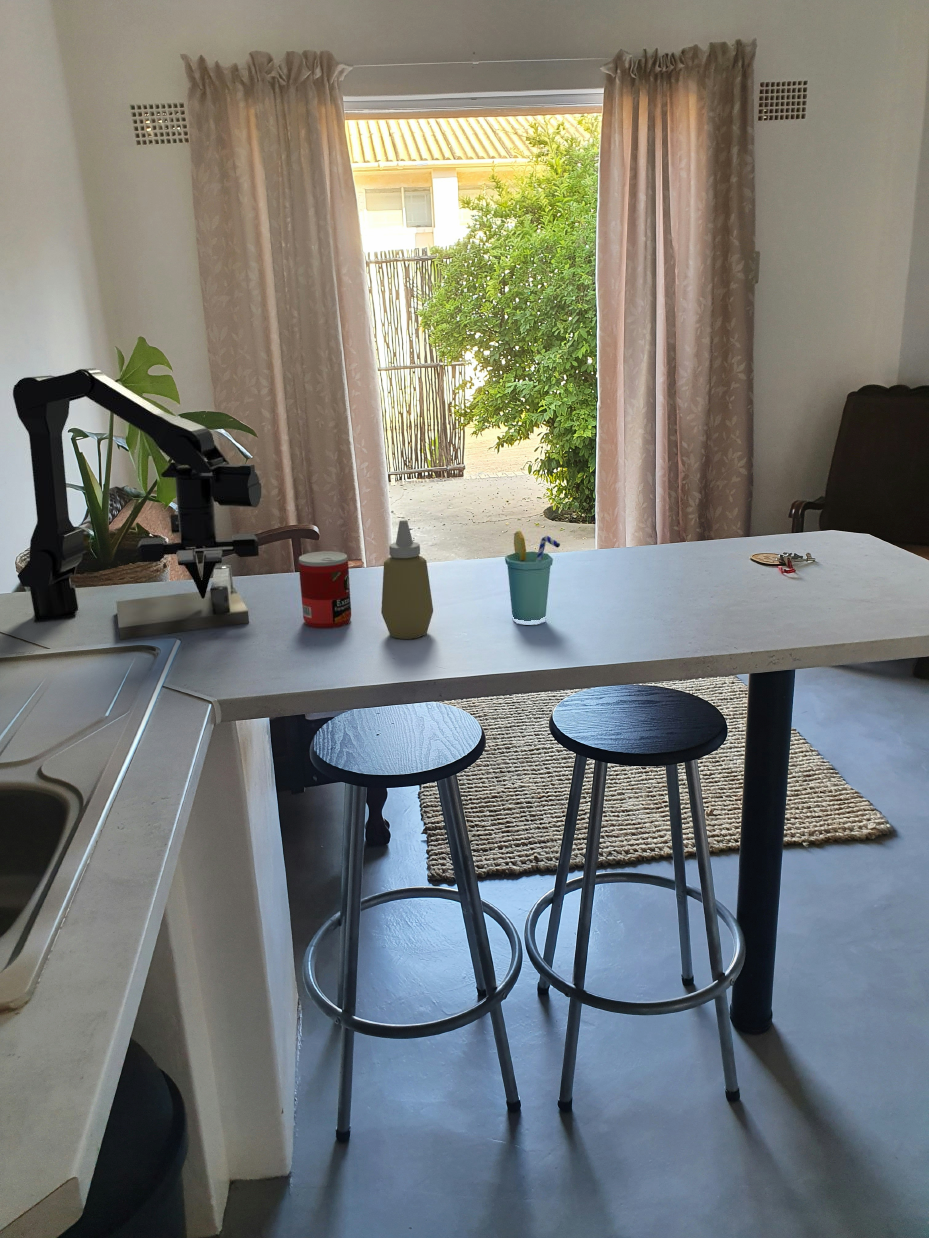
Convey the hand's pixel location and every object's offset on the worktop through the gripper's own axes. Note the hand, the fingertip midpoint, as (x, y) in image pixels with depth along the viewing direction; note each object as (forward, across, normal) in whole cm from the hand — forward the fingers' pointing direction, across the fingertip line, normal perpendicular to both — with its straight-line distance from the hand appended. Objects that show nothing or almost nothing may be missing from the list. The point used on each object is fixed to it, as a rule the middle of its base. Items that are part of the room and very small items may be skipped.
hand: (203, 597), depth 149 cm
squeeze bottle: (+3, -30, +20) cm, 37 cm away
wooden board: (+4, +4, -2) cm, 6 cm away
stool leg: (+1, -3, -1) cm, 4 cm away
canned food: (+3, -19, +9) cm, 22 cm away
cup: (+2, -51, +21) cm, 55 cm away
